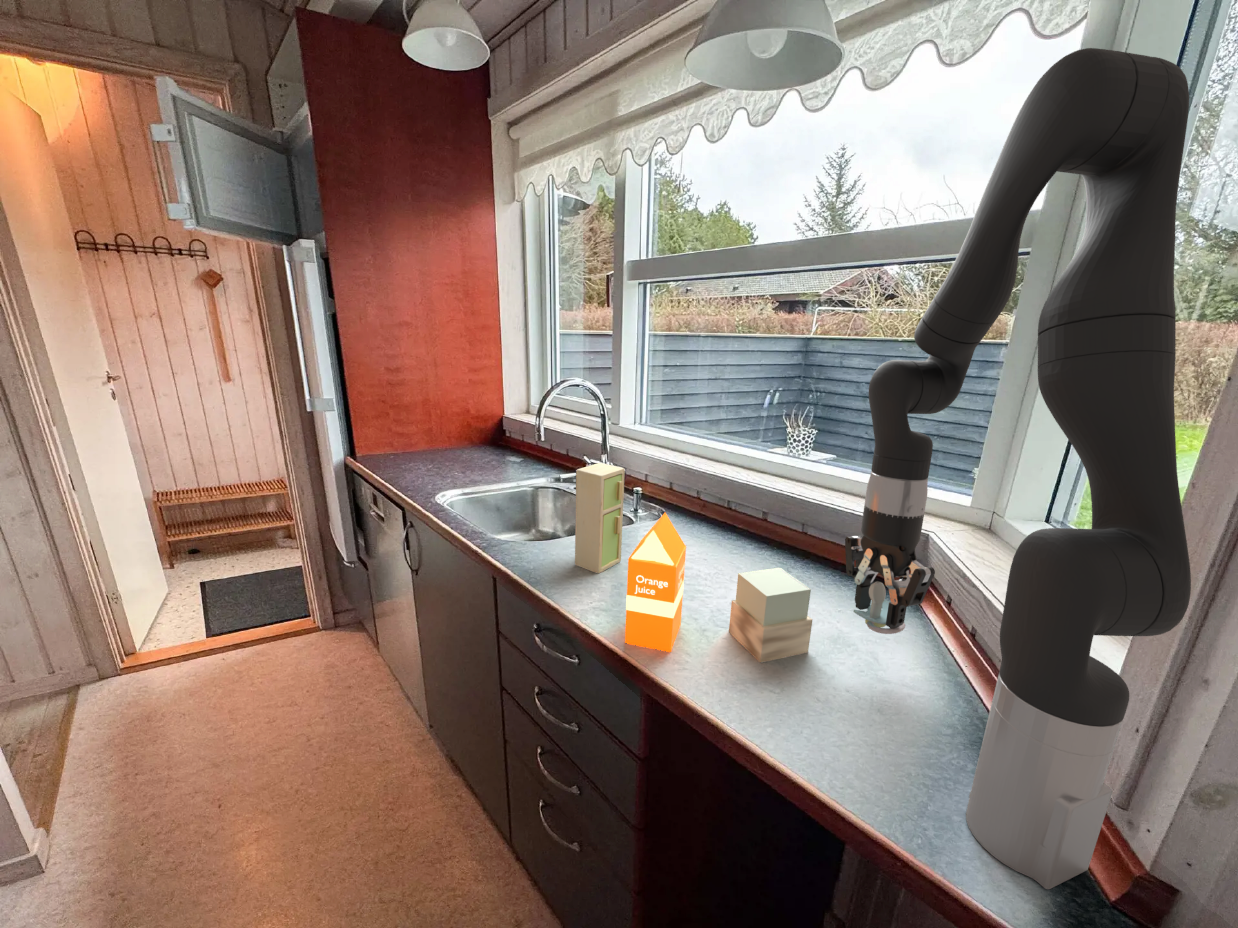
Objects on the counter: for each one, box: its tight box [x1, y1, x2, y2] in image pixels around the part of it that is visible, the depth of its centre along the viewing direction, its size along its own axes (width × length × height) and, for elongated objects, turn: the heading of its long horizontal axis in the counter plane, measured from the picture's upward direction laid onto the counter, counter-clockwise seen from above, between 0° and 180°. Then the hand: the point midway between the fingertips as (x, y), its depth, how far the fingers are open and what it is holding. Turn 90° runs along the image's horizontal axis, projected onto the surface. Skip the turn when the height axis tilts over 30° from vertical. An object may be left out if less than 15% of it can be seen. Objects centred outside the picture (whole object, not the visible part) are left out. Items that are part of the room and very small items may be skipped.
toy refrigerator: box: [574, 462, 626, 574], centre depth 112 cm, size 8×7×21 cm
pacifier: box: [853, 581, 906, 635], centre depth 78 cm, size 7×6×6 cm
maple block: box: [728, 599, 813, 664], centre depth 88 cm, size 9×9×6 cm
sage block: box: [735, 567, 812, 626], centre depth 86 cm, size 8×8×5 cm
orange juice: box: [624, 512, 687, 653], centre depth 87 cm, size 8×9×20 cm
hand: (877, 616), depth 79 cm, fingers closed on pacifier, 5 cm apart
